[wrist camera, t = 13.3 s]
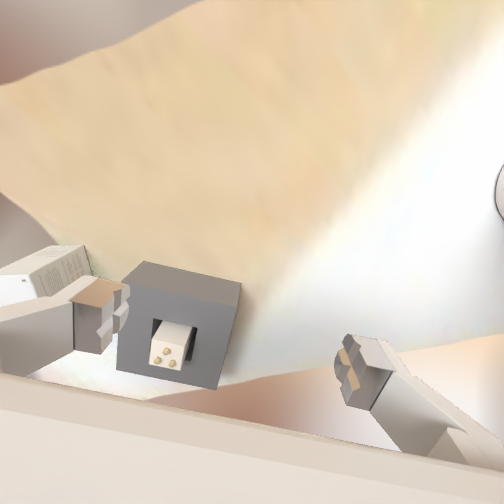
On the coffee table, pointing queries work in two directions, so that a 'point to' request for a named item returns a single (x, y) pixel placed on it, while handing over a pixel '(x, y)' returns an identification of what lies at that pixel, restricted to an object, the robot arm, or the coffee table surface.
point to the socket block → (178, 322)
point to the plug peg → (170, 345)
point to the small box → (42, 273)
